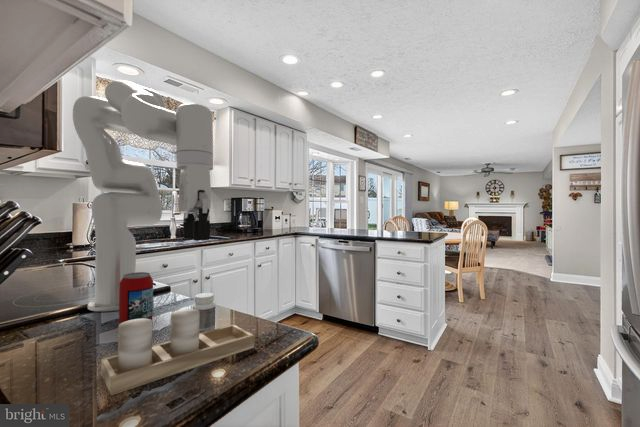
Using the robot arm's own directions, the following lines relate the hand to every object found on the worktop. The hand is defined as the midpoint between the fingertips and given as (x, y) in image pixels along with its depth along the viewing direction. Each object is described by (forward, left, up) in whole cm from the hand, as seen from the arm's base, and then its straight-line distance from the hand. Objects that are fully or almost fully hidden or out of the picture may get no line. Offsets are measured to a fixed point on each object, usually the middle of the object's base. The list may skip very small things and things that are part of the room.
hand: (196, 239), depth 69 cm
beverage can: (-13, -8, -21) cm, 26 cm away
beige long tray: (+11, -6, -21) cm, 24 cm away
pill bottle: (+1, +2, -21) cm, 21 cm away
